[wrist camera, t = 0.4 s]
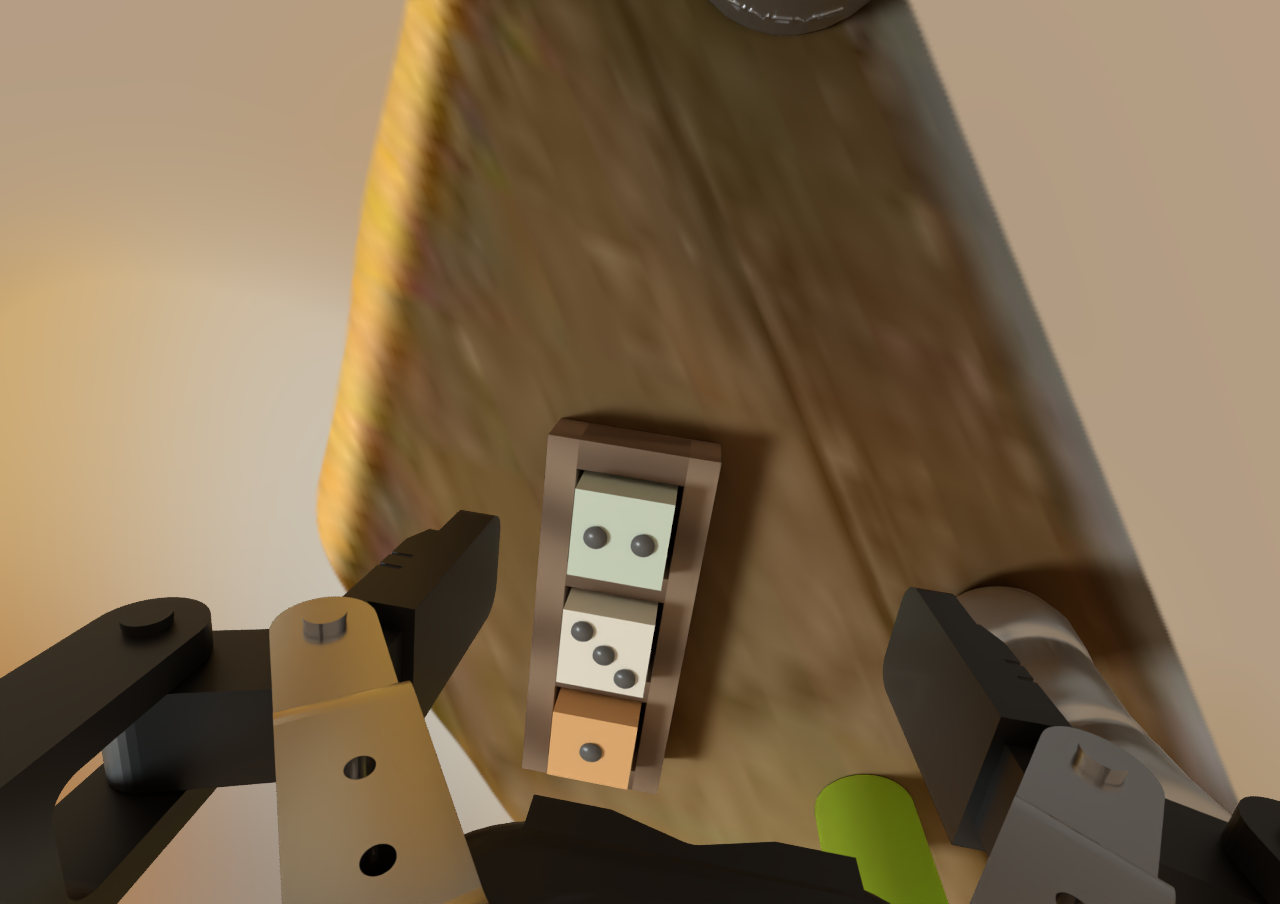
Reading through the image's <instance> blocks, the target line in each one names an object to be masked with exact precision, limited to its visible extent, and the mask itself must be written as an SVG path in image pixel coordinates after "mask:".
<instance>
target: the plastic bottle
mask: <svg viewBox="0 0 1280 904" xmlns="http://www.w3.org/2000/svg"><path fill="white" fill-rule="evenodd" d="M956 598H957V599H958V600H959V602H960V603H961V604H962V606H963V607H964V608H965V609H966V611H967V612H968V613H969V615H970V616H971V617H972V619H973V620H974V621H975V622H976V624H979V625H982V626H983V627H984V628H986V629H987V630H988V631H990V632H991V633H992V634H994V635H995V636H996V637H998V638H999V639H1000V640H1002V641H1003V642H1004V643H1005V644H1006V645H1007V646H1008V647H1009V649H1010V650H1011V651H1012V652H1013V654H1014V655H1015V656H1016V657H1017V659H1018V660H1019V661H1020V662H1021V663H1020V665H1021V666H1024V667H1025V669H1026V670H1027V671H1028V672H1029V674H1030V675H1031V676H1032V677H1033V678H1034V679H1033V682H1035V683H1038V685H1039V686H1040V687H1041V688H1042V690H1043V691H1044V692H1045V693H1046V695H1047V696H1048V697H1049V698H1050V700H1051V701H1052V702H1053V703H1054V705H1055V706H1056V707H1057V708H1058V710H1059V711H1060V712H1061V713H1062V715H1063V716H1064V717H1065V718H1066V720H1067V721H1068V722H1069V723H1070V725H1071V726H1072V727H1073V728H1076V729H1080V730H1083V731H1087V732H1089V733H1092V734H1094V735H1097V736H1099V737H1101V738H1103V739H1106V740H1108V741H1109V742H1111V743H1113V744H1115V745H1117V746H1118V747H1120V748H1122V749H1123V750H1125V751H1127V752H1128V753H1129V754H1131V755H1132V756H1134V757H1135V758H1136V759H1137V760H1139V761H1140V762H1141V763H1142V764H1144V765H1145V766H1146V767H1147V768H1148V769H1149V770H1150V771H1151V772H1152V773H1153V775H1154V776H1155V777H1156V778H1157V779H1158V781H1159V782H1160V784H1161V785H1162V788H1163V790H1164V793H1165V798H1166V799H1169V800H1171V801H1174V802H1176V803H1179V804H1182V805H1184V806H1187V807H1190V808H1192V809H1195V810H1197V811H1200V812H1203V813H1205V814H1208V815H1211V816H1213V817H1216V818H1218V819H1221V820H1224V821H1226V822H1229V820H1230V818H1231V815H1230V814H1229V813H1228V812H1227V811H1226V810H1225V809H1223V808H1222V807H1221V806H1220V805H1219V804H1218V803H1217V802H1216V801H1214V800H1213V799H1212V798H1211V797H1210V796H1209V795H1208V794H1207V793H1206V792H1204V791H1203V790H1202V789H1201V788H1200V787H1199V786H1198V785H1197V784H1195V783H1194V782H1193V781H1192V780H1191V779H1190V778H1189V777H1188V776H1187V775H1186V774H1185V773H1184V772H1183V771H1182V770H1181V769H1180V768H1179V766H1178V765H1177V764H1176V763H1175V762H1174V761H1173V760H1172V759H1171V758H1170V757H1169V756H1168V755H1167V754H1166V753H1165V752H1164V751H1163V750H1162V749H1161V748H1160V746H1159V745H1157V744H1156V743H1155V742H1154V741H1153V740H1152V739H1151V738H1150V737H1149V735H1148V734H1147V733H1146V732H1145V731H1144V730H1143V729H1142V728H1141V727H1140V726H1139V724H1138V723H1137V722H1136V721H1135V720H1134V719H1133V718H1132V717H1131V716H1130V715H1129V713H1128V712H1127V711H1126V709H1125V708H1124V707H1123V705H1122V704H1121V702H1120V701H1119V700H1118V698H1117V697H1116V695H1115V694H1114V693H1113V691H1112V690H1111V688H1110V687H1109V686H1108V684H1107V683H1106V681H1105V680H1104V679H1103V677H1102V676H1101V674H1100V673H1099V672H1098V670H1097V669H1096V667H1095V666H1094V664H1093V661H1092V659H1091V657H1090V655H1089V653H1088V651H1087V649H1086V647H1085V646H1084V644H1083V643H1082V641H1081V639H1080V638H1079V636H1078V635H1077V633H1076V632H1075V630H1074V629H1073V627H1072V625H1071V624H1070V622H1069V621H1068V619H1067V618H1066V617H1064V616H1063V615H1062V614H1061V613H1060V612H1059V611H1058V610H1056V609H1055V608H1054V607H1052V606H1051V605H1049V604H1048V603H1047V602H1045V601H1044V600H1042V599H1041V598H1040V597H1038V596H1036V595H1034V594H1033V593H1031V592H1028V591H1025V590H1022V589H1019V588H1012V587H1002V586H992V587H982V588H976V589H973V590H970V591H967V592H965V593H963V594H961V595H959V596H957V597H956Z"/></svg>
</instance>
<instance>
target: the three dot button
mask: <svg viewBox="0 0 1280 904" xmlns="http://www.w3.org/2000/svg"><path fill="white" fill-rule="evenodd" d="M657 608H658V602H654V601H649V600H643V599H637V598H632V597H626V596H621V595H615V594H609V593H604V592H598V591H592V590H587V589H581V588H576V587H572V588H571V591H570V593H569V596H568V598H567V601H566V604H565V606H564V609H563V617H562V627H561V637H560V647H559V657H558V667H557V677H556V682H560V683H565V684H571V685H576V686H581V687H587V688H592V689H597V690H603V691H608V692H613V693H619V694H624V695H629V696H635V697H640V698H643V693H644V687H645V682H646V676H647V670H648V664H649V658H650V652H651V646H652V640H653V634H654V629H655V622H656V615H657Z"/></svg>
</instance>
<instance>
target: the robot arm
mask: <svg viewBox="0 0 1280 904" xmlns="http://www.w3.org/2000/svg"><path fill="white" fill-rule="evenodd" d="M709 1H710V2H711V3H712V4H713V5H715V6H716V7H717V8H718V9H719V10H720V11H721V12H722V13H723V14H724V15H726V16H727V17H728V18H730V19H732V20H734V21H736V22H737V23H739V24H741V25H743V26H745V27H747V28H749V29H752V30H756V31H760V32H764V33H768V34H772V35H801V34H805V33H809V32H813V31H817V30H821V29H825V28H827V27H829V26H831V25H833V24H835V23H837V22H839V21H841V20H843V19H846V18H848V17H850V16H851V15H853V14H854V13H855V12H856V11H858V10H859V9H860V8H862V7H863V6H864V5H865V4H867V3H868V2H869V1H871V0H709ZM499 540H500V520H499V517H498V516H494V515H488V514H482V513H476V512H470V511H464V510H460V511H459V512H458V513H457V514H456V515H455V516H454V517H453V518H452V519H451V520H449V521H448V522H447V523H446V524H445V525H444V526H443V527H442V528H441V529H440V530H439V531H438V530H432V529H429V530H426V531H424V532H421V533H419V534H417V535H414V536H412V537H409V538H407V539H406V540H405V541H404V542H402V543H401V544H400V545H399V546H398V547H397V548H396V549H395V550H394V551H392V555H391V554H389V555H388V556H387V557H386V558H385V559H384V560H383V561H381V562H380V566H379V565H377V566H376V567H375V568H374V569H373V570H371V571H370V572H369V573H368V574H367V575H366V576H365V577H364V578H363V579H361V580H360V581H359V582H358V583H357V584H356V585H355V586H354V587H353V588H351V589H350V590H349V591H348V592H347V593H346V594H345V595H344V596H343V597H324V598H317V599H312V600H309V601H305V602H302V603H299V604H297V605H294V606H292V607H291V608H288V609H287V610H285V611H283V612H282V613H281V614H280V615H278V616H277V617H276V618H275V620H274V621H273V622H272V624H271V626H270V629H260V630H223V631H212V623H211V613H210V610H209V608H208V607H207V606H206V605H205V604H203V603H202V602H199V601H197V600H193V599H189V598H179V597H167V598H157V599H150V600H144V601H140V602H136V603H132V604H128V605H125V606H122V607H120V608H117V609H114V610H112V611H110V612H108V613H106V614H104V615H102V616H100V617H99V618H97V619H95V620H94V621H92V622H90V623H89V624H87V625H86V626H84V627H82V628H81V629H79V630H77V631H76V632H74V633H73V634H71V635H70V636H68V637H66V638H65V639H63V640H61V641H60V642H58V643H57V644H55V645H53V646H52V647H50V648H49V649H47V650H45V651H44V652H42V653H41V654H39V655H37V656H36V657H34V658H32V659H31V660H29V661H28V662H26V663H25V664H23V665H21V666H20V667H18V668H16V669H15V670H13V671H11V672H10V673H8V674H7V675H5V676H4V677H2V678H0V904H117V903H118V902H119V901H120V900H121V899H122V897H123V896H124V895H125V894H126V893H127V892H128V890H129V889H130V888H131V887H132V886H133V885H134V883H135V882H136V881H137V880H138V879H139V877H140V876H141V875H142V874H143V873H144V872H145V871H146V870H147V868H148V867H149V866H150V865H151V864H152V863H153V861H154V860H155V859H156V858H157V857H158V855H159V854H160V853H161V852H162V851H163V849H165V847H166V846H167V845H168V844H169V843H170V842H171V840H172V839H173V838H174V837H175V836H176V835H177V833H178V832H179V831H180V830H181V829H182V828H183V827H184V825H185V824H186V823H187V822H188V821H189V820H190V818H191V817H192V816H193V815H194V814H195V813H196V811H197V810H198V809H199V808H200V807H201V806H202V804H203V803H204V802H205V801H206V800H207V798H208V797H209V796H210V795H211V794H212V793H213V792H214V790H215V789H216V788H217V787H225V786H226V787H227V786H237V785H249V784H260V783H273V782H276V790H277V791H276V792H277V810H278V811H277V812H278V832H279V854H280V874H281V893H282V894H281V895H282V904H891V903H889V902H887V901H885V900H883V899H882V898H880V897H878V896H876V895H874V894H872V893H870V892H868V891H866V890H864V888H863V884H862V880H861V876H860V872H859V868H858V864H857V860H856V858H855V857H850V856H845V855H840V854H835V853H830V852H824V851H819V850H814V849H809V848H804V847H799V846H794V845H789V844H784V843H779V842H759V843H738V844H717V845H692V844H688V843H685V842H683V841H680V840H678V839H676V838H674V837H671V836H669V835H667V834H665V833H662V832H660V831H658V830H656V829H654V828H651V827H649V826H647V825H645V824H642V823H640V822H638V821H636V820H633V819H631V818H629V817H627V816H624V815H622V814H620V813H618V812H615V811H613V810H611V809H606V808H600V807H595V806H590V805H585V804H580V803H575V802H570V801H565V800H560V799H555V798H550V797H544V796H539V795H534V796H533V799H532V802H531V805H530V809H529V812H528V815H527V818H526V821H524V822H511V823H506V824H499V825H493V826H489V827H486V828H482V829H478V830H475V831H472V832H469V833H467V834H464V833H463V830H462V828H461V824H460V821H459V819H458V816H457V813H456V810H455V807H454V804H453V801H452V798H451V795H450V792H449V789H448V787H447V784H446V781H445V778H444V775H443V772H442V769H441V766H440V763H439V760H438V758H437V754H436V752H435V749H434V746H433V743H432V740H431V737H430V734H429V731H428V729H427V725H426V722H425V719H424V718H425V716H426V715H427V713H428V712H429V710H430V708H431V707H432V705H433V704H434V702H435V700H436V699H437V697H438V696H439V694H440V692H441V691H442V689H443V688H444V686H445V684H446V683H447V681H448V680H449V678H450V677H451V675H452V673H453V672H454V670H455V669H456V667H457V665H458V664H459V662H460V661H461V659H462V657H463V656H464V654H465V653H466V651H467V649H468V648H469V646H470V645H471V643H472V641H473V640H474V638H475V637H476V635H477V633H478V632H479V630H480V629H481V627H482V625H483V624H484V622H485V621H486V619H487V617H488V615H489V613H490V610H491V608H492V604H493V601H494V597H495V591H496V582H497V568H498V554H499ZM1020 663H1021V662H1020V661H1019V660H1018V659H1017V657H1016V656H1015V655H1014V654H1013V652H1012V651H1011V650H1010V649H1009V647H1008V646H1007V645H1006V644H1005V643H1004V642H1003V641H1002V640H1000V639H999V638H998V637H996V636H995V635H994V634H992V633H991V632H990V631H988V630H987V629H986V628H984V627H983V626H982V625H979V624H976V622H975V621H974V620H973V619H972V617H971V616H970V615H969V613H968V612H967V611H966V609H965V608H964V607H963V606H962V604H961V603H960V602H959V600H958V599H957V598H956V597H955V596H954V595H953V594H949V593H943V592H938V591H932V590H926V589H920V588H914V587H911V588H909V589H908V590H907V591H906V592H905V594H904V596H903V599H902V602H901V605H900V608H899V611H898V615H897V618H896V621H895V625H894V628H893V631H892V635H891V638H890V641H889V644H888V648H887V651H886V654H885V658H884V665H883V680H884V686H885V690H886V693H887V695H888V697H889V700H890V702H891V704H892V707H893V709H894V711H895V714H896V716H897V718H898V721H899V723H900V725H901V728H902V730H903V732H904V735H905V737H906V739H907V742H908V744H909V746H910V749H911V751H912V753H913V756H914V758H915V760H916V763H917V765H918V767H919V770H920V772H921V774H922V777H923V779H924V781H925V784H926V786H927V788H928V791H929V793H930V795H931V798H932V800H933V802H934V805H935V807H936V809H937V812H938V814H939V816H940V819H941V821H942V823H943V826H944V828H945V830H946V833H947V835H948V837H949V839H950V842H951V844H952V845H956V846H961V847H966V848H971V849H977V850H982V851H986V853H987V855H988V857H989V859H988V861H987V864H986V866H985V868H984V871H983V873H982V875H981V878H980V880H979V883H978V885H977V887H976V890H975V892H974V894H973V897H972V899H971V901H970V904H1280V801H1277V800H1273V799H1269V798H1264V797H1256V796H1255V797H1254V796H1250V797H1245V798H1243V799H1242V800H1240V802H1239V804H1238V806H1237V807H1236V809H1235V811H1234V813H1233V814H1232V816H1231V818H1230V820H1229V822H1226V821H1224V820H1221V819H1218V818H1216V817H1213V816H1211V815H1208V814H1205V813H1203V812H1200V811H1197V810H1195V809H1192V808H1190V807H1187V806H1184V805H1182V804H1179V803H1176V802H1174V801H1171V800H1169V799H1166V798H1165V793H1164V790H1163V788H1162V785H1161V784H1160V782H1159V781H1158V779H1157V778H1156V777H1155V776H1154V775H1153V773H1152V772H1151V771H1150V770H1149V769H1148V768H1147V767H1146V766H1145V765H1144V764H1142V763H1141V762H1140V761H1139V760H1137V759H1136V758H1135V757H1134V756H1132V755H1131V754H1129V753H1128V752H1127V751H1125V750H1123V749H1122V748H1120V747H1118V746H1117V745H1115V744H1113V743H1111V742H1109V741H1108V740H1106V739H1103V738H1101V737H1099V736H1097V735H1094V734H1092V733H1089V732H1087V731H1083V730H1080V729H1076V728H1073V727H1072V726H1071V725H1070V723H1069V722H1068V721H1067V720H1066V718H1065V717H1064V716H1063V715H1062V713H1061V712H1060V711H1059V710H1058V708H1057V707H1056V706H1055V705H1054V703H1053V702H1052V701H1051V700H1050V698H1049V697H1048V696H1047V695H1046V693H1045V692H1044V691H1043V690H1042V688H1041V687H1040V686H1039V685H1038V683H1035V682H1033V679H1034V678H1033V677H1032V676H1031V675H1030V674H1029V672H1028V671H1027V670H1026V669H1025V667H1024V666H1021V665H1020ZM100 751H102V755H103V761H104V763H103V764H102V765H101V766H100V767H99V768H97V769H96V770H95V771H94V772H93V773H92V774H91V775H90V776H88V777H87V778H86V779H85V780H84V781H83V782H82V783H81V784H79V785H78V786H77V787H76V788H75V789H74V790H73V791H72V792H70V793H69V794H68V795H67V796H66V797H65V798H64V799H62V800H61V801H60V802H59V803H58V804H57V805H56V806H55V804H56V801H57V799H58V797H59V795H60V793H61V791H62V790H63V788H64V786H65V785H66V784H67V782H68V781H69V780H70V779H71V778H72V776H73V775H74V774H75V773H76V772H77V771H78V770H80V768H82V767H83V766H84V765H85V764H87V763H88V762H89V761H90V760H91V759H92V758H93V757H95V756H96V755H97V754H98V753H99V752H100Z"/></svg>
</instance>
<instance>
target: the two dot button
mask: <svg viewBox="0 0 1280 904" xmlns="http://www.w3.org/2000/svg"><path fill="white" fill-rule="evenodd" d="M677 490H678V485H672V484H666V483H660V482H654V481H648V480H642V479H636V478H630V477H624V476H618V475H612V474H606V473H600V472H594V471H588V470H585V471H584V473H583V475H582V477H581V479H580V481H579V483H578V485H577V486H576V488H575V498H574V508H573V518H572V528H571V538H570V548H569V558H568V568H567V574H568V575H574V576H580V577H585V578H591V579H597V580H602V581H608V582H613V583H619V584H625V585H630V586H636V587H642V588H647V589H653V590H659V591H661V587H662V581H663V576H664V570H665V564H666V558H667V552H668V546H669V540H670V534H671V528H672V523H673V517H674V511H675V505H676V497H677Z"/></svg>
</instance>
